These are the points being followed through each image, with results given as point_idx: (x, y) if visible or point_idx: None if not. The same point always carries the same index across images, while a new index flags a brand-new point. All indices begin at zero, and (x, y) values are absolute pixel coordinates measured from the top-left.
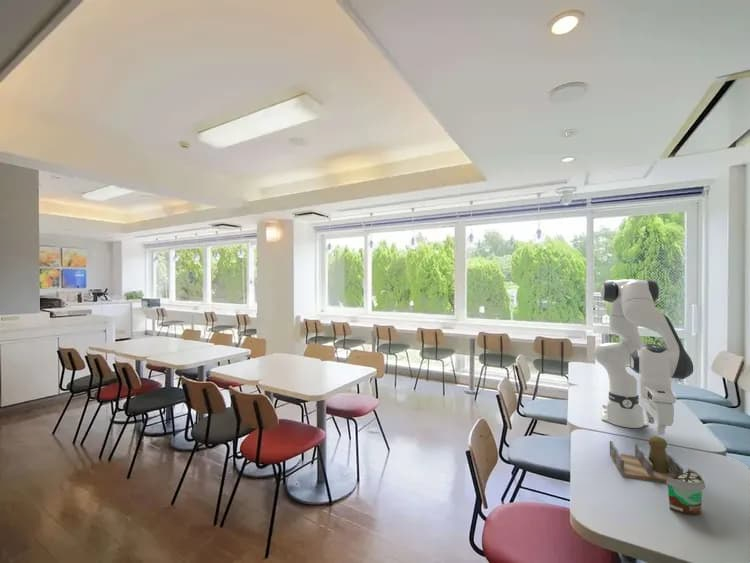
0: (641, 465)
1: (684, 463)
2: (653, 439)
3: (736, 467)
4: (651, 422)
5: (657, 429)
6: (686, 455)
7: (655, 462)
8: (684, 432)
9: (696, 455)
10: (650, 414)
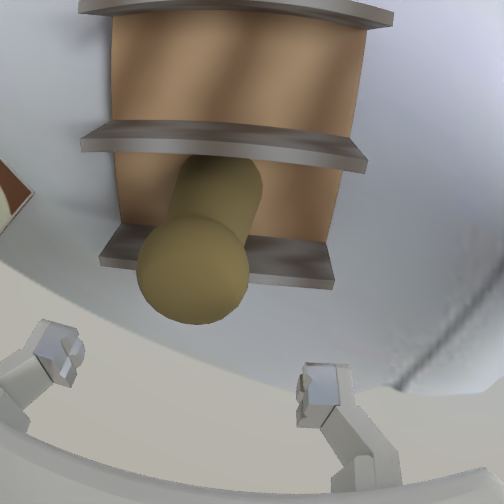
0: (229, 119)
1: (328, 304)
2: (156, 260)
3: None
4: (303, 382)
5: (39, 344)
6: (388, 331)
7: (176, 183)
8: (500, 366)
9: (386, 351)
10: (89, 475)
